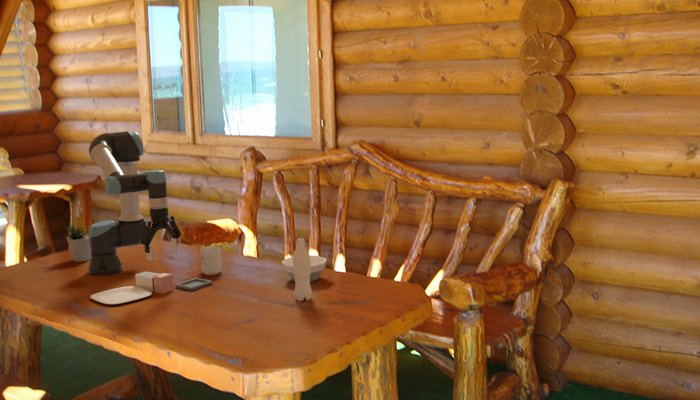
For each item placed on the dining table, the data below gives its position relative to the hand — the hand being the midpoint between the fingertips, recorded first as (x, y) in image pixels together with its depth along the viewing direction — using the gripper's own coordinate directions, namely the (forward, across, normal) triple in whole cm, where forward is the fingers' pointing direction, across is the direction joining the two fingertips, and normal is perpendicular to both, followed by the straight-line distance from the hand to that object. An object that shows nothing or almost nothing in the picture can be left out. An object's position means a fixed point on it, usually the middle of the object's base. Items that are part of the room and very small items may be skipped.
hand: (162, 256), depth 346 cm
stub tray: (+15, +12, -6) cm, 20 cm away
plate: (+16, -16, +9) cm, 24 cm away
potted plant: (+15, +16, +80) cm, 83 cm away
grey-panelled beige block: (+15, 0, +9) cm, 17 cm away
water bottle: (+15, +20, -60) cm, 65 cm away
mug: (+15, +32, +5) cm, 35 cm away
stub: (+15, 0, 0) cm, 15 cm away
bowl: (+15, +44, -41) cm, 62 cm away
